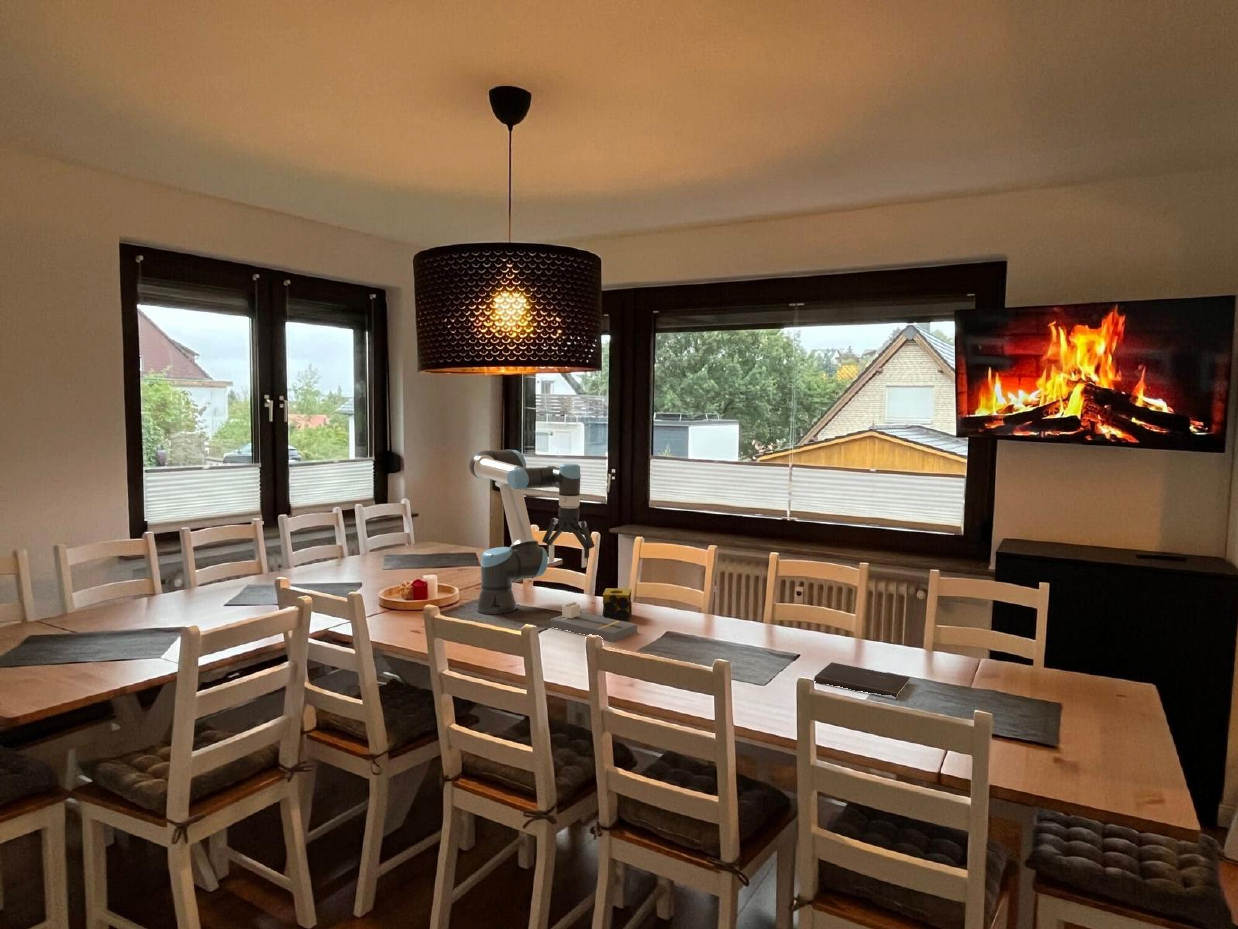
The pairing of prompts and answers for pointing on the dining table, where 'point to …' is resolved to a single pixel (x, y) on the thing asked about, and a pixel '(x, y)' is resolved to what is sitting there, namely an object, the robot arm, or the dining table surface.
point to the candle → (617, 604)
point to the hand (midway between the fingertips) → (567, 564)
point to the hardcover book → (861, 679)
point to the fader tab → (571, 610)
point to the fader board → (595, 626)
